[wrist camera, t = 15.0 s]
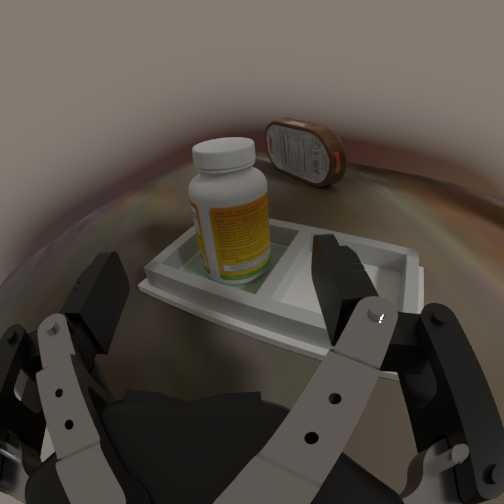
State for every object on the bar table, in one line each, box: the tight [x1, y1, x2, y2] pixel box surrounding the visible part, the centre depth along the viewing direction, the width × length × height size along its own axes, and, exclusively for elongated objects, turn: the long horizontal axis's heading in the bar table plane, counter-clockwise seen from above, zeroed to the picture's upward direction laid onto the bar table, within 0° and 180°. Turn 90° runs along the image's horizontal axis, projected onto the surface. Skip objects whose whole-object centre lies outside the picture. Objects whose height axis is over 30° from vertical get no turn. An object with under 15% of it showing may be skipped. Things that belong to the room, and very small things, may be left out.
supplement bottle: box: [188, 137, 271, 285], centre depth 20 cm, size 5×5×10 cm
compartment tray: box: [138, 218, 424, 381], centre depth 20 cm, size 11×21×2 cm, turn 63°
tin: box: [265, 118, 347, 187], centre depth 37 cm, size 15×3×8 cm, turn 31°
